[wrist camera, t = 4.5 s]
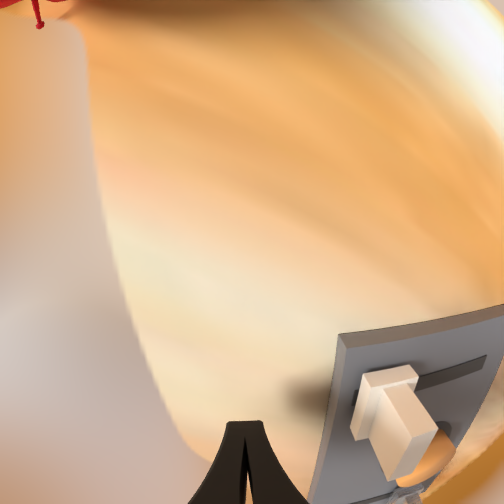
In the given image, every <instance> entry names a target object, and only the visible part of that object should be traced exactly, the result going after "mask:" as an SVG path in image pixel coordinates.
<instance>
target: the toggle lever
mask: <svg viewBox="0 0 504 504" xmlns="http://www.w3.org/2000/svg"><path fill="white" fill-rule="evenodd" d="M418 378H419V376H418V375H417V373H416V372H415V371H414V370H413V368H412V367H411V366H410V365H404V366H400V367H395V368H390V369H385V370H380V371H375V372H369V373H363V375H362V380H361V385H360V389H359V393H358V397H357V402H356V406H355V410H354V413H353V417H352V421H351V425H350V429H351V431H352V434H353V436H354V439H355V441H357V440H362V439H366V438H369V440H370V442H371V445H372V447H373V449H374V451H375V454H376V456H377V458H378V460H379V463H380V465H381V467H382V470H383V472H384V474H385V477H386V479H387V481H388V482H389V481H392V480H395V479H398V478H401V477H404V476H407V475H409V474H412V473H413V471H414V470H415V468H416V466H417V465H418V463H419V462H420V460H421V458H422V457H423V455H424V453H425V452H426V450H427V448H428V446H429V445H430V443H431V441H432V439H433V438H434V436H435V434H436V432H437V430H438V427H437V425H436V424H435V422H434V421H433V419H432V418H431V417H430V415H429V414H428V412H427V411H426V409H425V408H424V406H423V405H422V404H421V402H420V401H419V399H418V398H417V397H416V395H415V394H414V390H415V387H416V384H417V381H418Z"/></svg>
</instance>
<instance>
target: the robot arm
mask: <svg viewBox="0 0 504 504" xmlns="http://www.w3.org/2000/svg"><path fill="white" fill-rule="evenodd" d="M247 473H248V475H249V482H250V488H251V494H252V500H253V504H309V503H308V502H307V500H306V499H305V498H304V497H303V496H302V495H301V493H300V492H299V491H298V490H297V488H296V487H295V486H294V485H293V483H292V482H291V480H290V479H289V477H288V476H287V474H286V473H285V471H284V470H283V468H282V466H281V465H280V463H279V461H278V459H277V457H276V456H275V454H274V452H273V450H272V448H271V445H270V443H269V441H268V438H267V436H266V433H265V429H264V426H263V422H262V421H260V420H257V421H229V422H228V423H227V424H226V430H225V433H224V437H223V440H222V443H221V445H220V448H219V450H218V453H217V455H216V457H215V460H214V462H213V464H212V466H211V468H210V470H209V472H208V473H207V475H206V477H205V479H204V481H203V482H202V484H201V485H200V487H199V489H198V490H197V492H196V493H195V494H194V496H193V497H192V499H191V500H190V501H189V502H188V504H245V501H246V488H247Z"/></svg>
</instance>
